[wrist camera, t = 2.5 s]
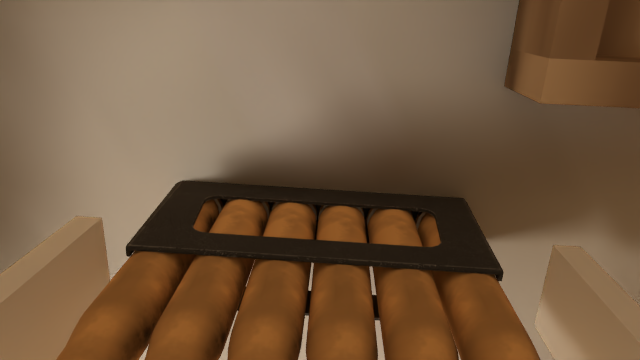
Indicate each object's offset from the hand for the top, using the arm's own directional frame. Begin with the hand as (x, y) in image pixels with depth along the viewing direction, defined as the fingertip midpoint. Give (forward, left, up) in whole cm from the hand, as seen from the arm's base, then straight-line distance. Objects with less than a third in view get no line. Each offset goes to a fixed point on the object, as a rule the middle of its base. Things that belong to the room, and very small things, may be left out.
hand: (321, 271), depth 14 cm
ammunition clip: (0, 0, -4) cm, 4 cm away
